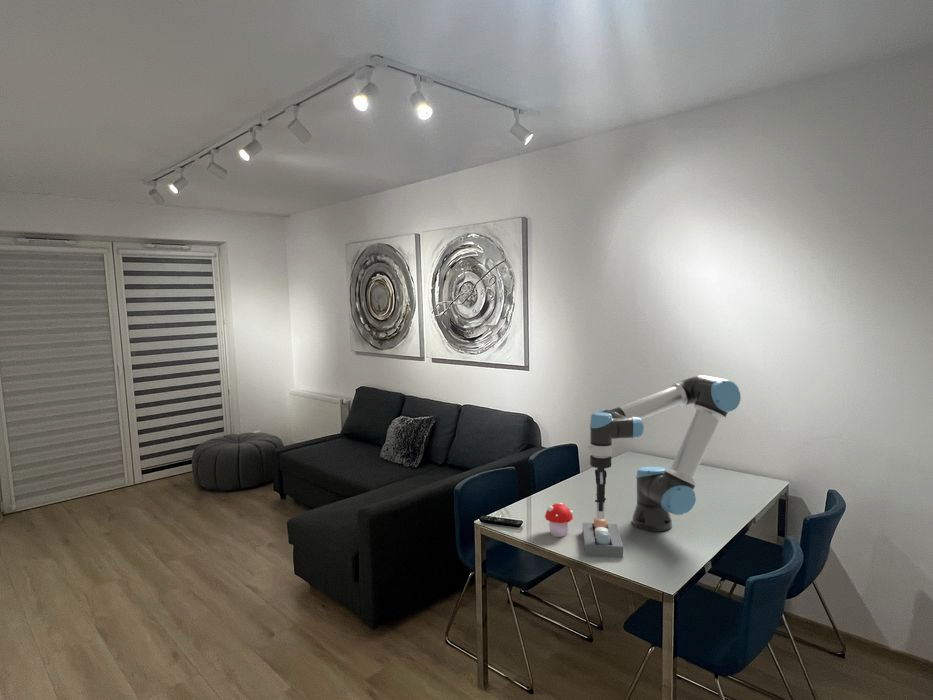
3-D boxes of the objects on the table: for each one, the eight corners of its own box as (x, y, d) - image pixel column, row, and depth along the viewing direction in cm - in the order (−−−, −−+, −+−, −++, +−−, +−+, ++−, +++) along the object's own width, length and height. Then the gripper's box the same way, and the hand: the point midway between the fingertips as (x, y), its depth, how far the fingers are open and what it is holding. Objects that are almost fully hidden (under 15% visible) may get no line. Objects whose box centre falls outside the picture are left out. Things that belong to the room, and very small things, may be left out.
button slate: (609, 543, 195) (609, 531, 195) (610, 548, 190) (610, 536, 190) (596, 542, 196) (595, 530, 195) (597, 548, 191) (596, 536, 191)
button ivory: (607, 538, 201) (607, 527, 201) (609, 544, 197) (608, 532, 196) (594, 538, 202) (594, 526, 202) (595, 544, 197) (595, 532, 197)
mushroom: (569, 527, 216) (569, 498, 215) (576, 539, 205) (575, 508, 204) (543, 528, 215) (542, 499, 214) (548, 540, 204) (548, 509, 203)
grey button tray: (616, 533, 208) (616, 523, 208) (623, 557, 189) (623, 546, 188) (582, 532, 210) (582, 522, 210) (585, 555, 191) (585, 545, 190)
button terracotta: (606, 528, 208) (606, 517, 207) (607, 533, 203) (607, 522, 203) (593, 527, 208) (593, 516, 208) (594, 533, 204) (594, 521, 203)
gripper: (589, 450, 202) (589, 511, 204) (590, 459, 189) (590, 524, 191) (610, 451, 201) (609, 512, 202) (612, 460, 188) (612, 526, 190)
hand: (600, 518), depth 197 cm, fingers closed
